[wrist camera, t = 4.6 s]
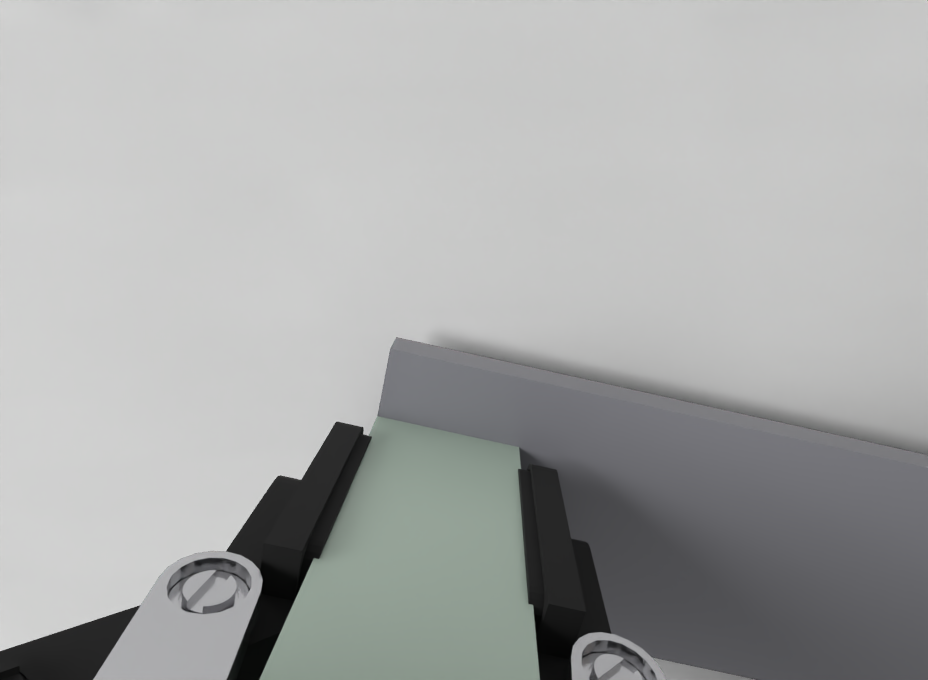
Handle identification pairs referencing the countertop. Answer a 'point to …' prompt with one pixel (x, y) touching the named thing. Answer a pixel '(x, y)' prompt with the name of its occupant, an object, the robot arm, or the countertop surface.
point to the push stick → (611, 534)
